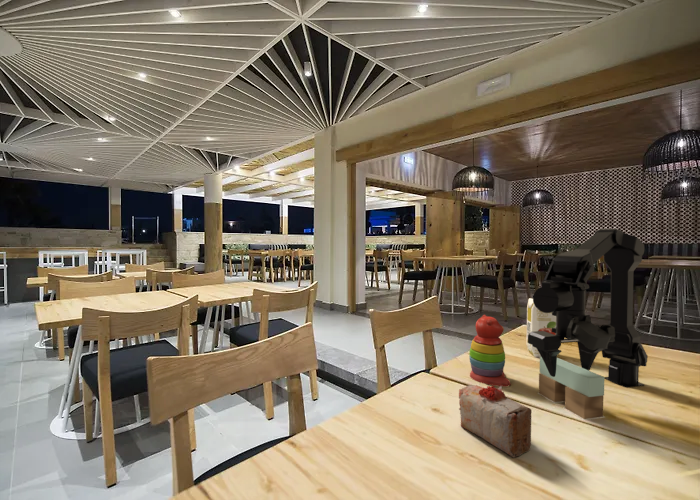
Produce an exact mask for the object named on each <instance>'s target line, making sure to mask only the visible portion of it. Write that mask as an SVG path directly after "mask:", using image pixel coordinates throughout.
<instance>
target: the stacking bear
mask: <svg viewBox="0 0 700 500" xmlns="http://www.w3.org/2000/svg"><path fill="white" fill-rule="evenodd" d="M504 330H505V328H504V327H503V325H501V324H500V323H499V321H498V320H497V319H496V318H495V317H492V316H487V315H486V314H483V315H482V316H481V317H480V318H478V319H477V321H476V322H475V332H476V334H477V335H476V336H475V335H474V337H473V339H472V340H471V345H470V349H469V362H470V368H471V370H470V373H469V377H470V379H472V380H474V381H475V382H477V383H481V384H484V385H488V386H494V387H495V386H496V387H500V386H502V388H505V387H508V388H509V386H510V387H511V382H510V380H509V379H508V378H507V377H506V374H505V372H504V367H505V363H506V353H505V348H504V344H503V340H502V339H501V338H500V337H501V336H502V334H503V333H504Z"/></svg>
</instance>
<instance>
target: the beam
mask: <svg viewBox="0 0 700 500" xmlns="http://www.w3.org/2000/svg"><path fill="white" fill-rule="evenodd" d="M539 373H541V374H543V375H545V376H547V377H549V378H551V379H553V380H555V381H557V382H559V383H561V384H563V385H565V386H567V387H570V388H572V389H574V390H576V391H578V392H580V393H582V394H584V395H586V396H588V397H594V396H603V395H604V396H605V379H604V378H605V377H606V376H602V375H600V374H599V373H596V372H594V371H591V370H586V369H584V368H582V367H581V366H578V365H577V364H573V363H571V362H569V361H567V360H564V359H561V358H559V357H557V364H556V375H555V377H553V376H551V375H550V374H549V371H548V369H547V367H546V365H545V363H544V361H543V359H542V357H539ZM604 396H603V397H604Z"/></svg>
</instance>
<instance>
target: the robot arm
mask: <svg viewBox="0 0 700 500" xmlns="http://www.w3.org/2000/svg"><path fill="white" fill-rule="evenodd" d="M644 253H645V244H644V243H643V241H642V240H640V239H639V238H638V237H637V236H634V235H631V234H630V233H629V234H628V233H625V232H623V231H622V230H621V229H617V228H600V229H598V230H597V229H596V231H595V232H594V234H593V235H592V236H590V237H589V238H588V239H587V240H586V241H585V242H583V243H582V244H581V245H579V246H578V247H577V248H575V249H573V250H570V251H569V250H568V251H563V252H561V253H558V254H556V256H554V258H553V259H552V261H551V263H550V265H549V266H548V270H547V272H546V275H545V276H544V279H543V281H542V282H541V287H538V288H537V289H536V290H535V291H534V294H533V295H532V299H533V302H534V305H535V306H536V308H537V309H538V310H540V311H541V312H544V313H551V312H552V315H554V316H556V328H552V332H553V333H556V335H554V334H551V333H548V332H545V331H535V332H530V333H529V334H528V343H529V344H532V346H533V347H535V348H537V350H538V352H539V353H540V355H541V357H542V359H543V361H544V363H545V365H546V367H547V369H548V371H549V374H550V375H551V376H553V377H555V375H556V364H557V358H558V356H559V354H561V352H562V350H561V349H560V347H561V346H562V344H564V343H565V344H567V343H568V344H569V343H577V348H578V354H579V360H580V365H581V366H580V367H581V368H584V369H586V370H589V371H591V368H592V366H593V365H594V361H595V359H596V357H597V355H598V354H599V353H600V352H601V355H602V358H604V359H608V360H609V361H608V363H609V364H608V371H607V372H608V376H604V377H605V378H604V380H606V381H608V382H610V383H611V382H612V383H613V384H617V385H618V386H620V387H623V388H626V389H627V388H635V387H637V388H638V387H644V386H645V384H644V383H642V382H640V381H639V372H640V369H639V368H640V367H647V362H648V354H647V352H646V350H645V348H644V347H643V344H642V343H641V335H640V334H639V332H638V330H637V329H636V327H635V326H634V324H633V322H634V320H633V318H634V317H633V315H634V312H633V311H634V271H635V270H636V268H638V266H639V265H640V264H641V263H642V260H643V255H644ZM602 257H603V262H604V263H605V264H606V266H607V267H608V268H609V270H610V308H609V310H610V313H609V315H610V317H609V324H607V323H606V324H601V325H599V324H594V323H592V317H591V315H590V314H588V313H586V294H587V293H586V291H587V289H590V285H589V284H588V283H587V282H588V280H589V278H590V277H591V276H592V274H593V273H594V272H595V268H594V265H595V264H596V262H597V261H599V259H601V258H602Z"/></svg>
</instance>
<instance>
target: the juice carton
mask: <svg viewBox="0 0 700 500" xmlns="http://www.w3.org/2000/svg"><path fill="white" fill-rule="evenodd" d="M552 328H556V316H554V315H552V312H551V313H544V312H541V311H540V310H538V309H537V308H536V306H535V305H534V302H533V297H532V298H531V297H530V298H528V302H527V307H526V348H527V352H528V351H529V352H530V354H531V355H532V356H533V358H540V357H541V355H540V353H539V352H538V350H537V348H535V347H533V346H532V344H529V343H528V334H529V333H530V332H535V331H545V332H548V333H551V334H554V335H556V333H553V332H552ZM529 352H528V353H529Z"/></svg>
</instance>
